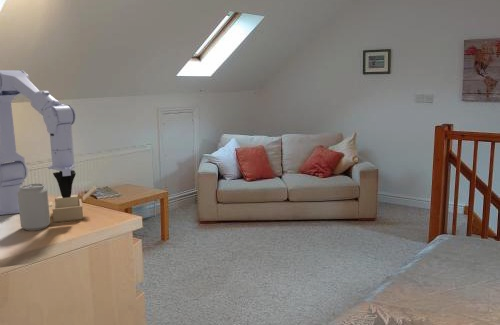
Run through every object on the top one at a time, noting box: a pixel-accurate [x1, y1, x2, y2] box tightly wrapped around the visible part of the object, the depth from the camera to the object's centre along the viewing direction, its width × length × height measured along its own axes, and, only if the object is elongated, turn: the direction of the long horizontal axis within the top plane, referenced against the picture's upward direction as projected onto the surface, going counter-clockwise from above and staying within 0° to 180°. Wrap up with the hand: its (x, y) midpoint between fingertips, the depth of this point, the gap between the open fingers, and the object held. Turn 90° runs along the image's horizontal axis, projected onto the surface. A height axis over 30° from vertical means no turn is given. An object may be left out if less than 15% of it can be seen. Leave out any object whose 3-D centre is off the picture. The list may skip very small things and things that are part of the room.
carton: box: [48, 194, 84, 224], centre depth 143 cm, size 15×12×4 cm
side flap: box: [82, 185, 97, 202], centre depth 145 cm, size 5×5×1 cm
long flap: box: [54, 196, 79, 208], centre depth 134 cm, size 5×6×1 cm
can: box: [17, 183, 51, 232], centre depth 131 cm, size 8×8×12 cm
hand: (66, 197), depth 132 cm, fingers closed
